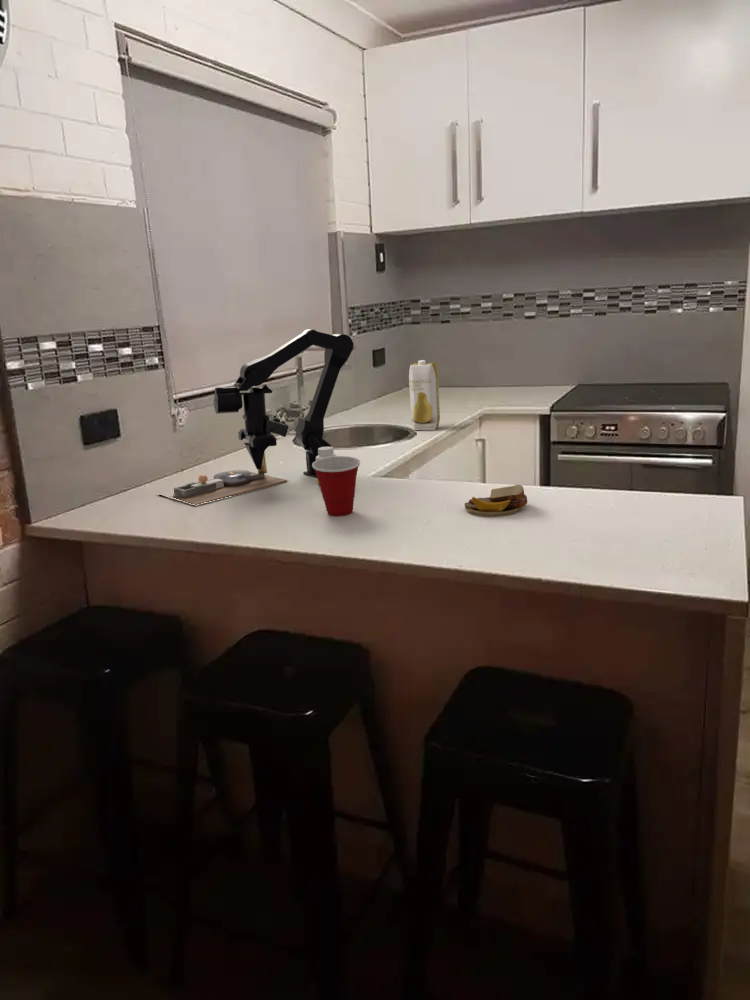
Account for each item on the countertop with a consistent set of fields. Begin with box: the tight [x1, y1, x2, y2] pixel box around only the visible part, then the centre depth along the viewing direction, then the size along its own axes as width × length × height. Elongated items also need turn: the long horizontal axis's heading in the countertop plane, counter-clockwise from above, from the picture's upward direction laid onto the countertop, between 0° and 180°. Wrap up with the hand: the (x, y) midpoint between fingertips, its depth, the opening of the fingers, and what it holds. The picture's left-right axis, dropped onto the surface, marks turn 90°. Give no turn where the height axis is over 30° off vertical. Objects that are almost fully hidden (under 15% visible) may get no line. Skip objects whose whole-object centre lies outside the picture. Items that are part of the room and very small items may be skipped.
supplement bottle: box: [316, 446, 337, 488], centre depth 194 cm, size 6×6×10 cm
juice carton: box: [408, 359, 441, 431], centre depth 262 cm, size 9×8×24 cm
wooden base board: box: [170, 471, 288, 505], centre depth 201 cm, size 20×28×3 cm
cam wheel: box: [212, 452, 268, 486], centre depth 205 cm, size 12×12×7 cm
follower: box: [191, 474, 224, 489], centre depth 198 cm, size 3×8×4 cm, turn 133°
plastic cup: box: [312, 455, 361, 517], centre depth 169 cm, size 11×11×12 cm
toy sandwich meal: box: [464, 484, 528, 517], centre depth 165 cm, size 12×14×5 cm
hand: (258, 469), depth 203 cm, fingers closed
